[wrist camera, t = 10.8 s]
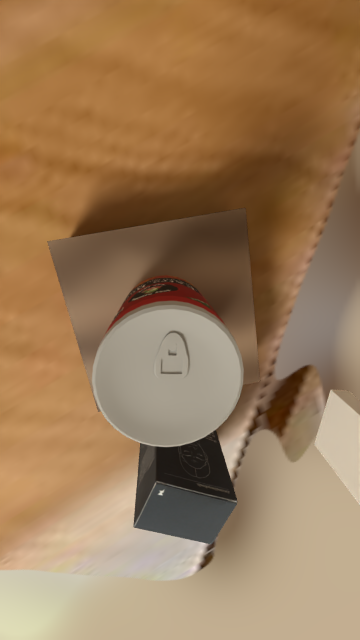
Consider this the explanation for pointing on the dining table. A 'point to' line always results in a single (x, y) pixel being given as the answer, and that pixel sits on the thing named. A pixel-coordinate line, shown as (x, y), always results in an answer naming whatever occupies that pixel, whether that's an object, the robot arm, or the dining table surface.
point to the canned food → (167, 365)
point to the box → (184, 490)
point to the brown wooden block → (158, 260)
